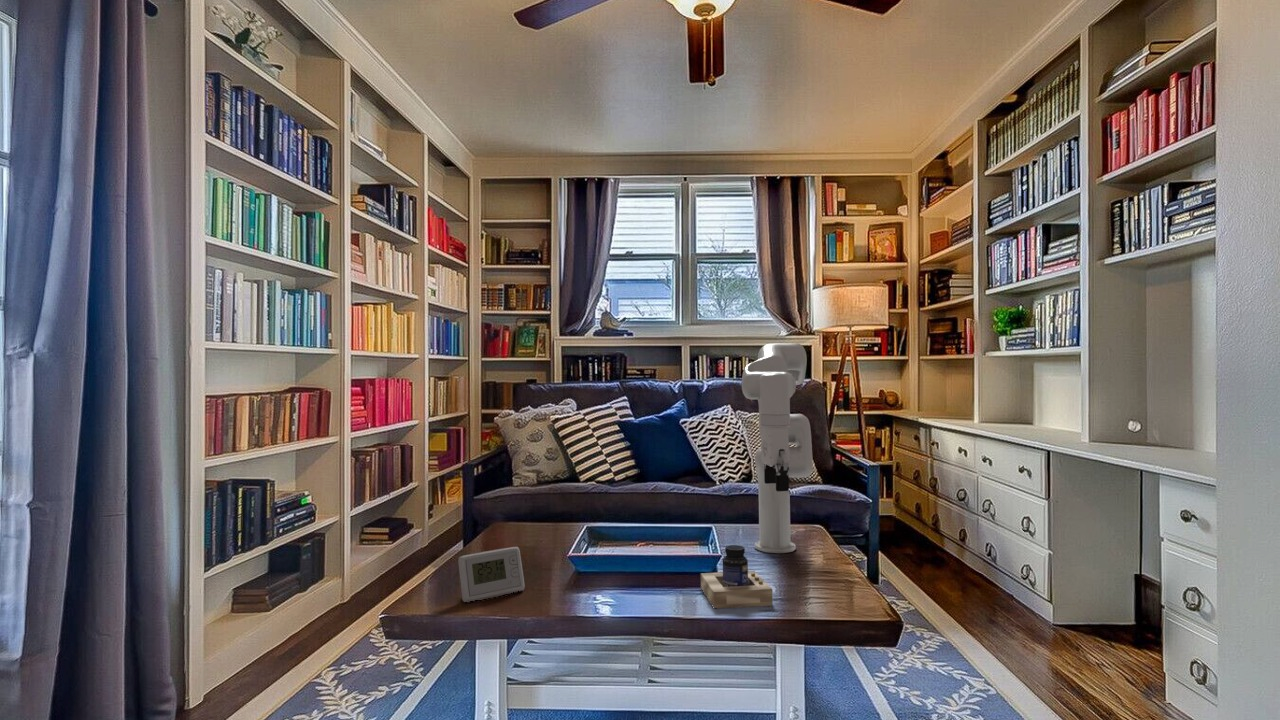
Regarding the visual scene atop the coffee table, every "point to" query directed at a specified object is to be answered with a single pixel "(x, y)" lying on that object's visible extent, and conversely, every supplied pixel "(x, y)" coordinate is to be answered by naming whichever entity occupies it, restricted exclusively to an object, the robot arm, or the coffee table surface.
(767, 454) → the robot arm
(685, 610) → the coffee table surface
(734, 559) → the pill bottle
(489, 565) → the digital clock
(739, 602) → the socket block
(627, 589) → the coffee table surface
